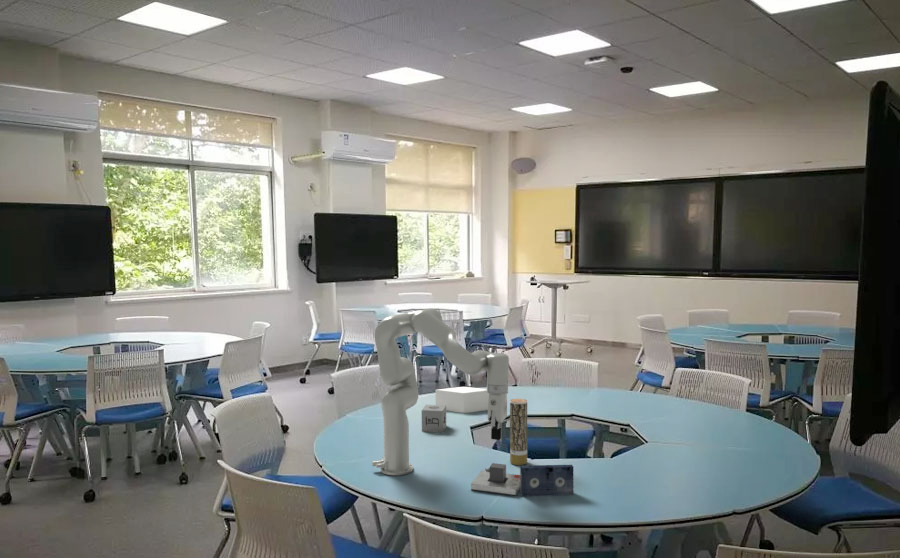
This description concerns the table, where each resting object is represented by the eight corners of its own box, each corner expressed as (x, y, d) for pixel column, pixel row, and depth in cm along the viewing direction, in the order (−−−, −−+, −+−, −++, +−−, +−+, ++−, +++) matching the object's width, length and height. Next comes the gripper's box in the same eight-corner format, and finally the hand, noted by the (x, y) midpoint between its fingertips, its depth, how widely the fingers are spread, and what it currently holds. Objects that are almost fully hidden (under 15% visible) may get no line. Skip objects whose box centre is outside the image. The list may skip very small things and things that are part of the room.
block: (436, 405, 325) (436, 386, 325) (491, 405, 324) (491, 386, 324) (434, 413, 310) (434, 393, 310) (492, 413, 310) (492, 393, 309)
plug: (484, 485, 213) (484, 466, 213) (487, 481, 217) (487, 462, 217) (503, 487, 211) (503, 468, 210) (506, 483, 215) (506, 464, 214)
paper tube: (518, 467, 232) (518, 403, 231) (506, 462, 238) (506, 400, 236) (530, 463, 236) (530, 401, 235) (519, 458, 242) (519, 397, 240)
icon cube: (421, 431, 279) (421, 410, 279) (426, 425, 289) (425, 404, 289) (442, 432, 278) (442, 410, 277) (446, 425, 287) (446, 405, 287)
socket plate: (471, 490, 210) (471, 481, 210) (481, 477, 222) (481, 468, 222) (515, 496, 205) (515, 487, 204) (523, 482, 217) (523, 474, 217)
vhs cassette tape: (572, 492, 208) (572, 464, 208) (574, 495, 205) (574, 467, 205) (519, 493, 208) (519, 465, 207) (521, 496, 205) (521, 468, 204)
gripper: (502, 394, 203) (500, 446, 205) (512, 384, 218) (511, 434, 219) (481, 392, 206) (479, 444, 207) (492, 382, 220) (491, 431, 221)
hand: (496, 438), depth 213 cm, fingers closed
